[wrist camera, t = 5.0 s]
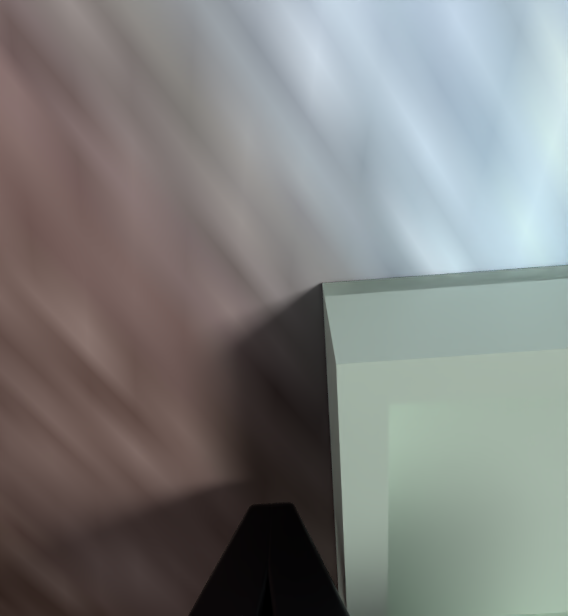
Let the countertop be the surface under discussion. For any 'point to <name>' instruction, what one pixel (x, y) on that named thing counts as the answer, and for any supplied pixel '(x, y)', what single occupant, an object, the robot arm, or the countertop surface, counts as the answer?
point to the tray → (450, 442)
